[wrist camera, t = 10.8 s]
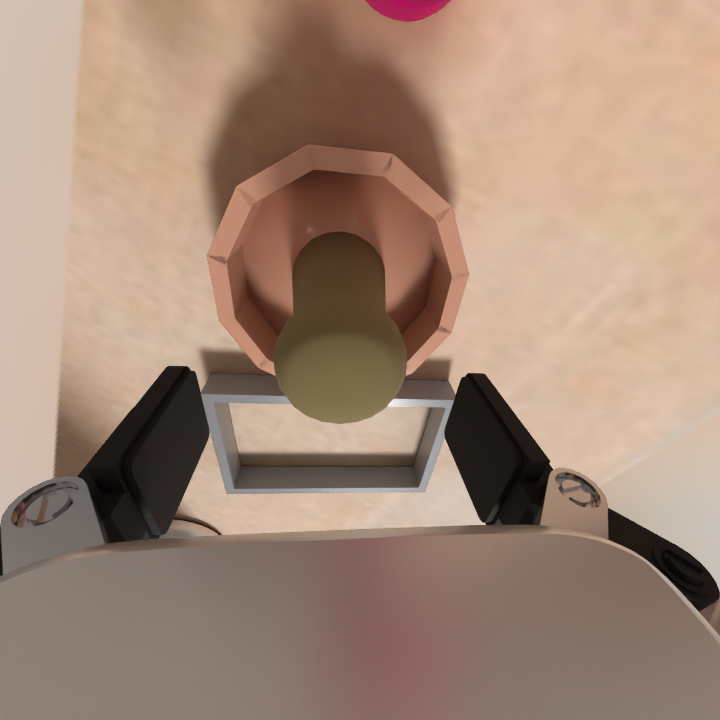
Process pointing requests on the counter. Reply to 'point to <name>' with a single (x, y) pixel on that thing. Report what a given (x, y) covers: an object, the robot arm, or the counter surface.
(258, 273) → the bowl
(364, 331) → the olive pestle
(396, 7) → the pepper mill
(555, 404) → the counter surface
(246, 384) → the grey rectangular frame
